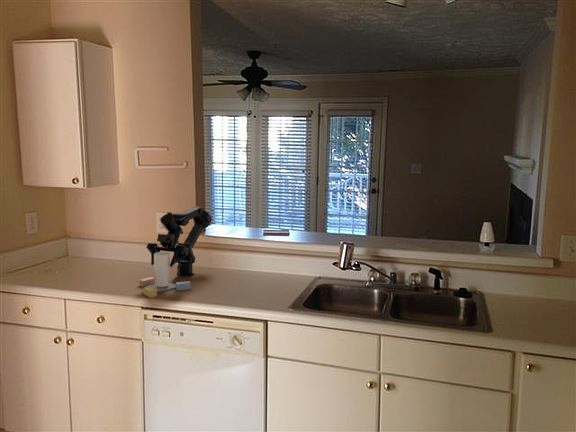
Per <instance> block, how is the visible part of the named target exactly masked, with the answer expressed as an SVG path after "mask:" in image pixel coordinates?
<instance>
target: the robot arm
mask: <svg viewBox="0 0 576 432" xmlns="http://www.w3.org/2000/svg"><path fill="white" fill-rule="evenodd" d="M212 218H213V217H212V216H211V214H210V213H209V212H208V211H206V210H205V209H204V208H203V207H201V206H192V207H191V208H189V209H188V210H186V211H184V212H176V213H175V212H174V213H173V212H169V211H168V212H166V213H165V214H164V215H163V216H161V217H160V223H161V224H162V226H163V228H164V229H165V231H167V233H165V234H162V233H159V234H157V239H156V241H157V242H159V244H160V245H161V246H160V245H158V244H157V242H148V243H147V244H146V247H145V248H146V249H147V250H148V252H149V253H150V255H151V256H150V258H151V260H150V261H151V266H154V253H157V252H168V253H173V254H172V255H173V256H172V258H171V261H170V266H169V268H172V267H174V265H176V263H177V266H176V268H177V272H176V275H177V276H181V277H184V278H185V277H189V276H193V275H195V272H193V264H195V263H196V256H195V254H194V252H193V248H194V246H195V245H196V243H197V241H198V239H199V237H200V235H201V234H202V232H203V230H205V229H207V228H209V226H210V224H212ZM190 220H193V227H192V228H191V230H190V232H189V233H188V235H187V236H186V238H185V240H184V242H183V243H181V242H180V241H179V239H180V237H181V235H183V234H184V230H183V228H182V227H186V226H187V225H188V224H190Z"/></svg>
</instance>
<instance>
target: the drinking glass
mask: <svg viewBox="0 0 576 432" xmlns="http://www.w3.org/2000/svg"><path fill="white" fill-rule="evenodd" d="M170 259H171V258H170V252H168V251H160V252H157V253H154V265H153V266H154V273H155V284H156V285H157V287H167V286H168V285H169V282H170V280H169V279H170V263H171V261H170Z"/></svg>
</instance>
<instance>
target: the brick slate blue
mask: <svg viewBox="0 0 576 432" xmlns="http://www.w3.org/2000/svg"><path fill="white" fill-rule="evenodd" d="M191 284H192V283H191V281H190V280H188V281H178V282H175V285H176V289H175V290H176V291H186V290H191V289H192V287H191V286H192V285H191Z"/></svg>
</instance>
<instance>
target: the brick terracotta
mask: <svg viewBox="0 0 576 432" xmlns="http://www.w3.org/2000/svg"><path fill="white" fill-rule="evenodd" d="M151 284H156V277H151V276H150V277H145V278H141V279H139V286H140V287H142V288H145V286H147V285H151Z"/></svg>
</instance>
